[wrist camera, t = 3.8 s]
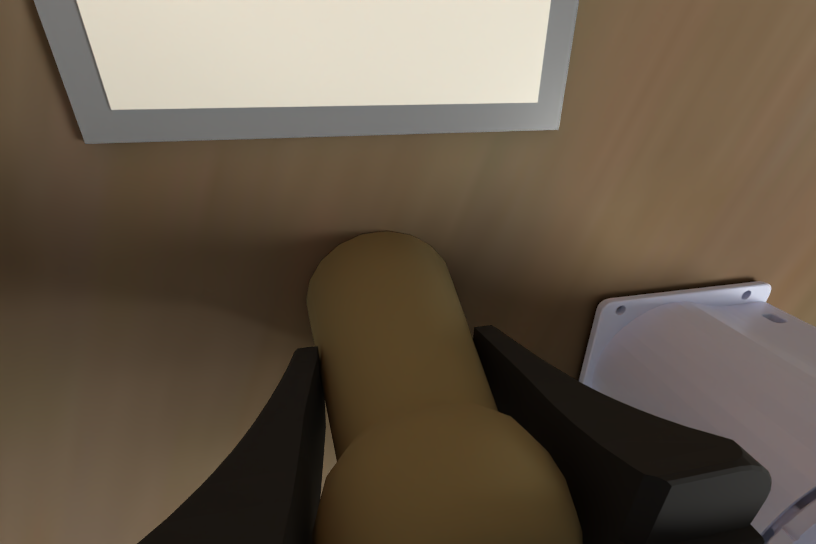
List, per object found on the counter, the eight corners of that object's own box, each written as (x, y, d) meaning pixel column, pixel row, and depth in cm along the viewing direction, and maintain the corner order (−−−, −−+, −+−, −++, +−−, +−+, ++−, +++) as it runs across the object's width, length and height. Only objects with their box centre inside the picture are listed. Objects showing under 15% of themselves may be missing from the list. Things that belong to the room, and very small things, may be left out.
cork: (304, 229, 14) (264, 564, 4) (463, 232, 15) (705, 495, 6) (307, 363, 17) (286, 761, 7) (443, 356, 18) (585, 682, 8)
